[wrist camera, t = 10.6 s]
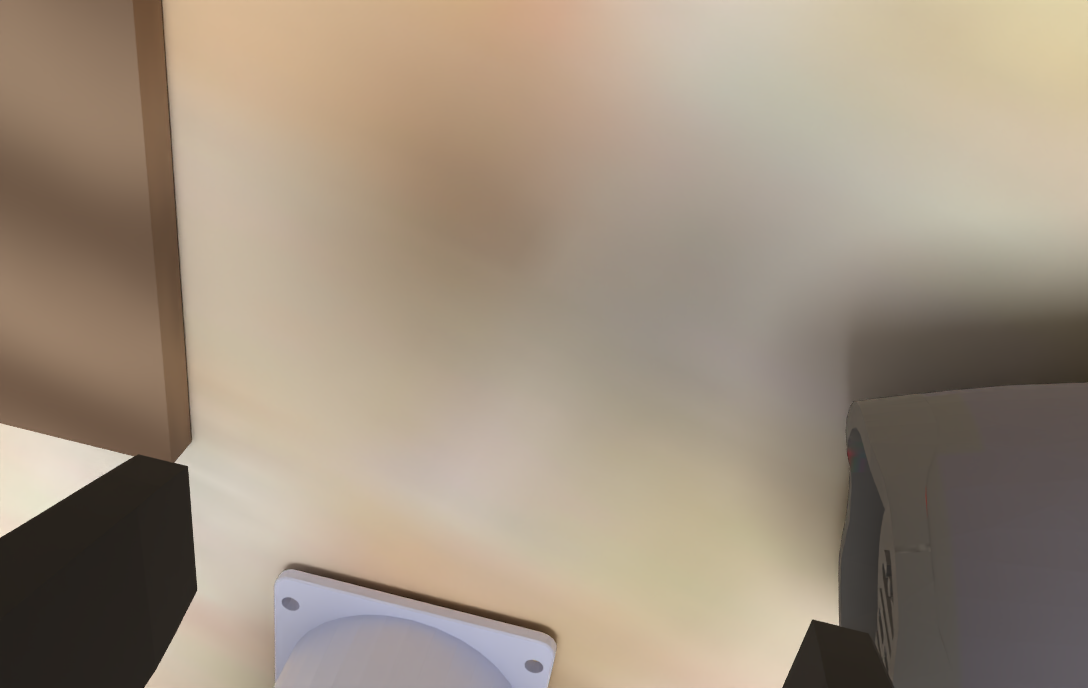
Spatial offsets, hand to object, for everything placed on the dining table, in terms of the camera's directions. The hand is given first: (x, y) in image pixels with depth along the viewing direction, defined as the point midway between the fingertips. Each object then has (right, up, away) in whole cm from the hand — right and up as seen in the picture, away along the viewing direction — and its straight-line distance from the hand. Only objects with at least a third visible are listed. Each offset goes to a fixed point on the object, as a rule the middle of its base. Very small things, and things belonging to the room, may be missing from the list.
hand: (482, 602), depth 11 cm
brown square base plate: (-15, +8, +11) cm, 20 cm away
